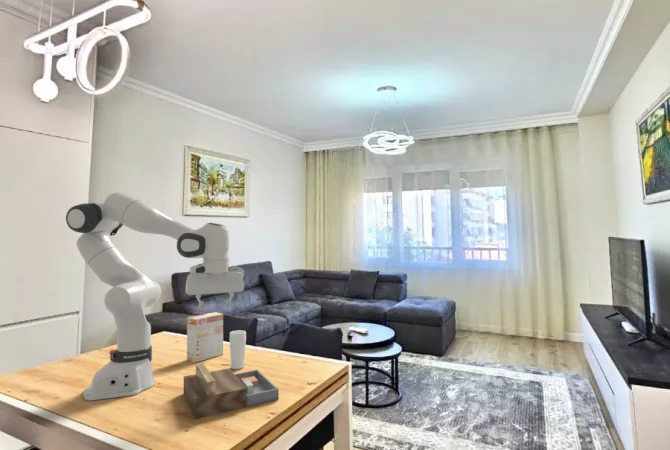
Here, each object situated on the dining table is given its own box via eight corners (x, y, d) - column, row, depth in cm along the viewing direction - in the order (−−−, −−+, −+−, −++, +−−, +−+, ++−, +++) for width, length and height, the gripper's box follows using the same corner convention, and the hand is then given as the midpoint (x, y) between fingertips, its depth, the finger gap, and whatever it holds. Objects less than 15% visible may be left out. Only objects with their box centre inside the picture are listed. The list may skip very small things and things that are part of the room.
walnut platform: (194, 419, 111) (194, 399, 111) (183, 393, 130) (183, 376, 130) (246, 407, 119) (246, 388, 120) (229, 384, 138) (229, 368, 139)
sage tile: (247, 386, 122) (253, 385, 123) (243, 381, 127) (249, 380, 128) (247, 401, 122) (253, 400, 123) (243, 396, 127) (249, 394, 128)
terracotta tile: (258, 380, 136) (258, 385, 135) (254, 376, 140) (254, 381, 140) (244, 382, 133) (244, 388, 133) (240, 378, 138) (240, 384, 137)
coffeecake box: (215, 352, 179) (215, 311, 180) (223, 355, 175) (223, 313, 176) (186, 360, 168) (186, 316, 169) (194, 363, 163) (194, 318, 164)
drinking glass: (236, 371, 152) (236, 334, 153) (226, 368, 156) (226, 332, 157) (249, 367, 158) (249, 331, 158) (239, 363, 162) (239, 329, 162)
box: (246, 407, 119) (246, 395, 119) (229, 384, 138) (229, 375, 138) (278, 399, 125) (278, 388, 125) (257, 378, 144) (257, 369, 144)
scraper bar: (207, 395, 114) (207, 382, 114) (195, 375, 131) (195, 363, 132) (215, 393, 115) (215, 380, 116) (202, 374, 133) (202, 362, 133)
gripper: (242, 266, 142) (241, 302, 141) (185, 267, 132) (184, 306, 131) (246, 267, 136) (245, 305, 136) (187, 268, 126) (186, 309, 126)
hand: (215, 305), depth 133 cm, fingers open, 8 cm apart
